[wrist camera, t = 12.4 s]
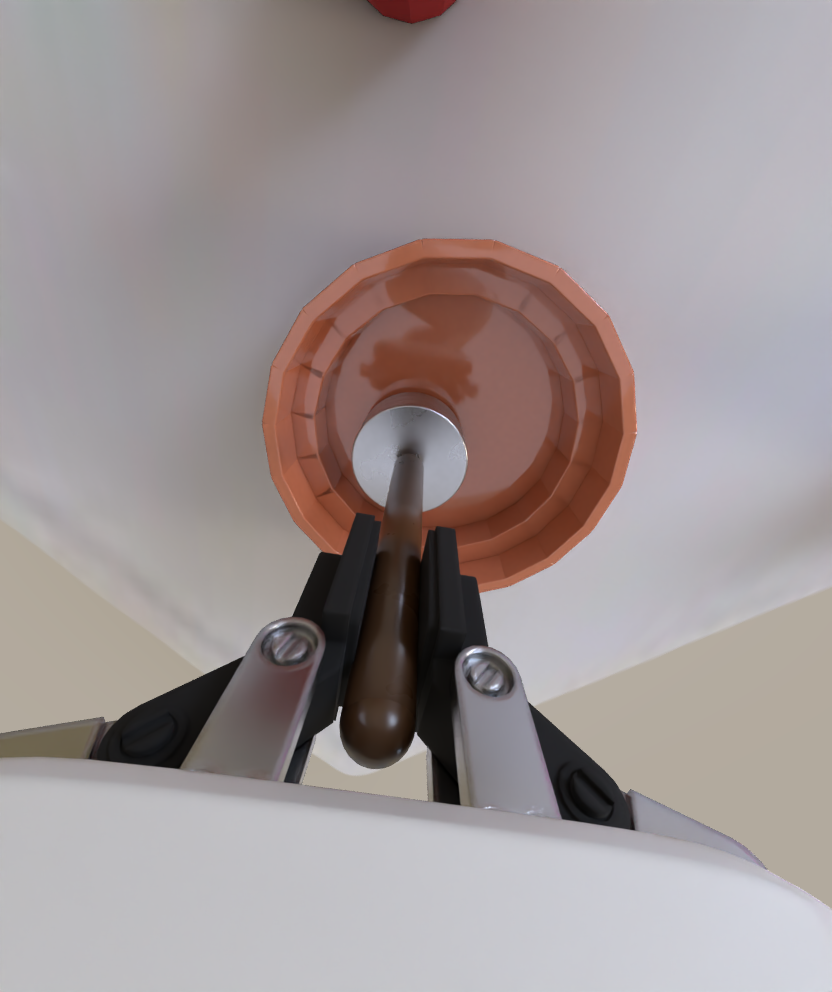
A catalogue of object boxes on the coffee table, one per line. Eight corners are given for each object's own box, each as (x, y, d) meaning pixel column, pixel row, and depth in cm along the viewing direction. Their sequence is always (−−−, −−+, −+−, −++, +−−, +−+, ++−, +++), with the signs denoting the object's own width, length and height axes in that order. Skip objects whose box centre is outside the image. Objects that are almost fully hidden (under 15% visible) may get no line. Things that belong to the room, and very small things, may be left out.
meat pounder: (339, 430, 21) (132, 730, 6) (425, 369, 19) (414, 581, 5) (400, 506, 23) (349, 866, 8) (482, 456, 21) (598, 794, 7)
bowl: (237, 386, 21) (185, 410, 17) (496, 166, 16) (522, 116, 12) (409, 581, 27) (405, 638, 22) (637, 458, 22) (689, 498, 18)
